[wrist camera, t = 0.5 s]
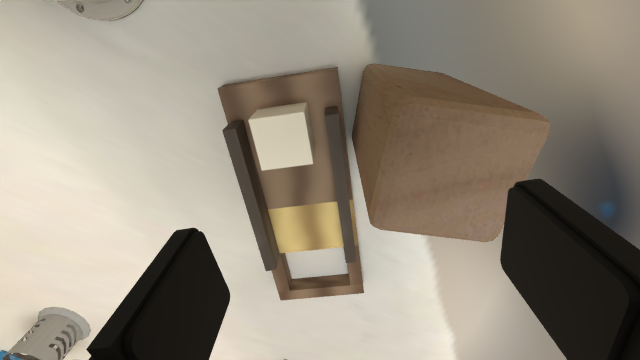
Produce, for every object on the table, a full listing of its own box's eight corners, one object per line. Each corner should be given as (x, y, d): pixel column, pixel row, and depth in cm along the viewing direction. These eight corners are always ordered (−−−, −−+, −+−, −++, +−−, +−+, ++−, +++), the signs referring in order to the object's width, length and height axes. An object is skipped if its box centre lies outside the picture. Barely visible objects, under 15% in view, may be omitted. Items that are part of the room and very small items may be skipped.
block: (364, 61, 35) (400, 97, 18) (447, 73, 36) (564, 119, 18) (349, 141, 40) (367, 233, 22) (423, 150, 40) (498, 249, 23)
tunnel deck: (282, 288, 53) (277, 318, 47) (224, 84, 37) (206, 95, 32) (362, 281, 51) (366, 311, 46) (336, 67, 36) (338, 74, 30)
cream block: (268, 155, 38) (261, 170, 34) (257, 109, 36) (248, 119, 32) (314, 149, 38) (313, 163, 34) (306, 102, 35) (304, 111, 31)
